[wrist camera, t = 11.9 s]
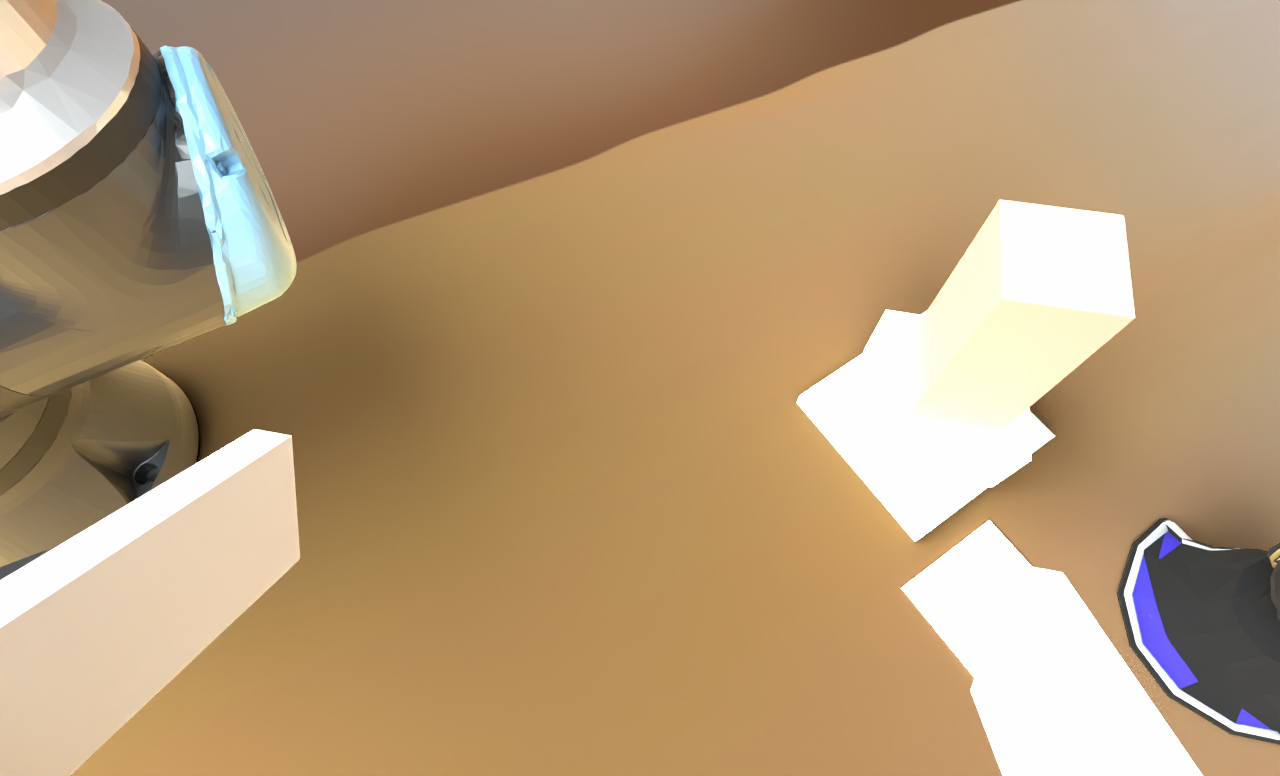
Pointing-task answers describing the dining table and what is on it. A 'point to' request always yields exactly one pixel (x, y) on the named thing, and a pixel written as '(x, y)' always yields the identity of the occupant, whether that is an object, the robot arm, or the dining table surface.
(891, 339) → the base brick
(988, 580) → the page
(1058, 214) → the tall brick
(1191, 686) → the figurine
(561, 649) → the dining table surface
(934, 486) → the plate
